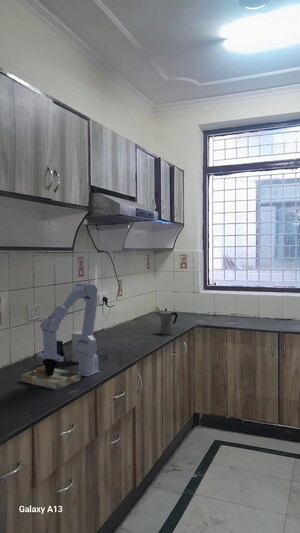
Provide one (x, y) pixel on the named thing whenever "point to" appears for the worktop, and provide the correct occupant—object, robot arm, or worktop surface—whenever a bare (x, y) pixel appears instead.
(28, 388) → the worktop surface
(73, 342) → the skincare box
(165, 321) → the coffeepot
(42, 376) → the walnut block
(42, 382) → the trap board
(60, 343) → the phone stand
